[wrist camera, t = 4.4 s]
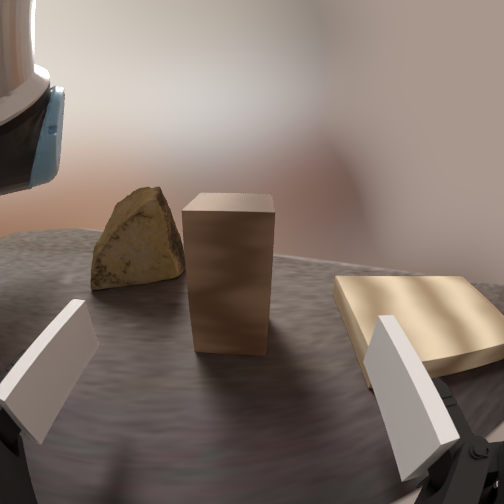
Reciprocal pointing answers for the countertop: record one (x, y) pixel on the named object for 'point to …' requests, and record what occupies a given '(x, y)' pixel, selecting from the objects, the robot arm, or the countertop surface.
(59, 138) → the robot arm
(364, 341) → the cutting board
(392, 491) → the countertop surface
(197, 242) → the walnut block
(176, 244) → the rock
